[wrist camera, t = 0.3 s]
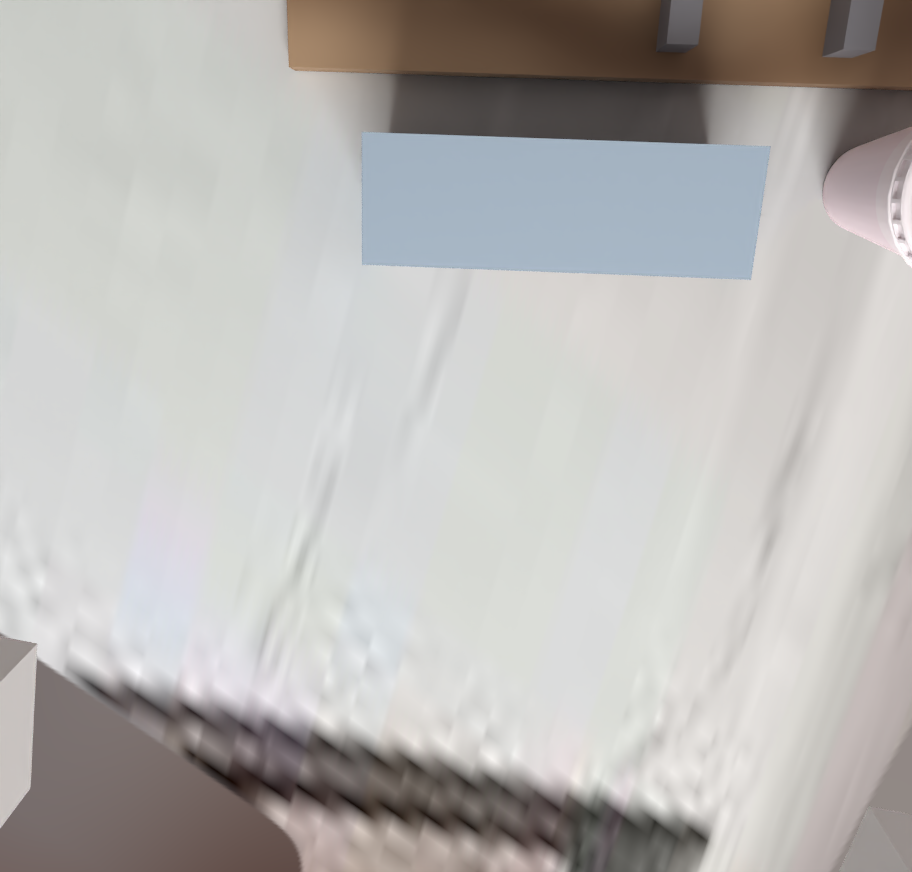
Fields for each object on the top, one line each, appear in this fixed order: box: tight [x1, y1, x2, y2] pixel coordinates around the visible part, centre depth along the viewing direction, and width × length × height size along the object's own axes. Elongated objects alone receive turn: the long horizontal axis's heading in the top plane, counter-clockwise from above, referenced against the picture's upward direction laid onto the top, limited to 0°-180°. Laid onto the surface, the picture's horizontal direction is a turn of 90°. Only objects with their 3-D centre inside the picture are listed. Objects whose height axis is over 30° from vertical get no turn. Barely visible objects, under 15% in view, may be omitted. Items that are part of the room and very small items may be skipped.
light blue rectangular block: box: [362, 132, 771, 280], centre depth 32 cm, size 14×4×8 cm, turn 88°
